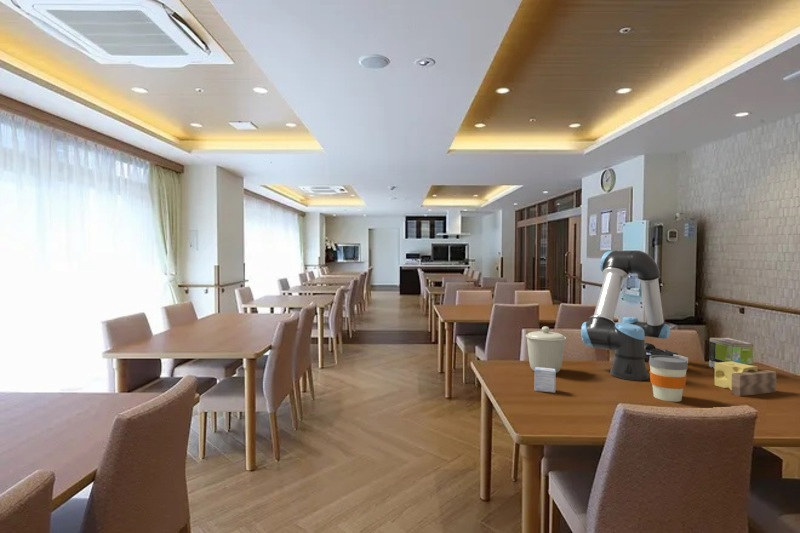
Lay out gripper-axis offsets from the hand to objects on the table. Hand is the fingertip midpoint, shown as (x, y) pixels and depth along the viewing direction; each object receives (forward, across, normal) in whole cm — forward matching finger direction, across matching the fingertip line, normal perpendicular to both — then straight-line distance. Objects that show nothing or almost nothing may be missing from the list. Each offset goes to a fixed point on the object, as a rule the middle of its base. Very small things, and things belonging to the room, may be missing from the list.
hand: (686, 360), depth 194 cm
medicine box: (+6, +80, -6) cm, 80 cm away
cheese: (+22, +1, -6) cm, 23 cm away
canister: (-19, +62, -6) cm, 65 cm away
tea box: (+2, -25, -6) cm, 26 cm away
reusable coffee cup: (+25, +40, -6) cm, 47 cm away
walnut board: (+29, +1, -6) cm, 30 cm away
